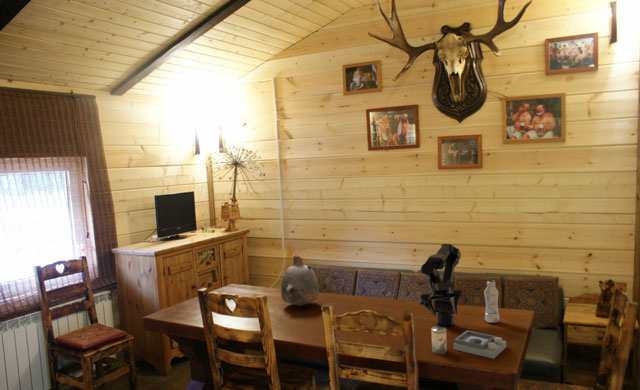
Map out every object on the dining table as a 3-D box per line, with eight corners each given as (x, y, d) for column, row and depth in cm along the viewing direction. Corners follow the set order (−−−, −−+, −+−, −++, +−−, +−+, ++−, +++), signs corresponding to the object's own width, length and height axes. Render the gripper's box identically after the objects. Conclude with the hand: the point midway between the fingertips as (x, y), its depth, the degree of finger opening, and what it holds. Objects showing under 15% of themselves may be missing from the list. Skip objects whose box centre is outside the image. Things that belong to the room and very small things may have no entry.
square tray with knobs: (453, 349, 201) (453, 338, 201) (467, 338, 212) (467, 328, 211) (493, 358, 190) (493, 347, 190) (506, 347, 200) (506, 336, 200)
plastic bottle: (500, 324, 227) (499, 283, 225) (485, 324, 228) (484, 283, 226) (498, 320, 233) (497, 279, 231) (484, 319, 234) (482, 279, 233)
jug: (319, 312, 259) (316, 257, 257) (279, 314, 259) (276, 259, 257) (319, 299, 283) (317, 249, 281) (283, 300, 284) (281, 251, 281)
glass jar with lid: (430, 348, 203) (429, 326, 202) (445, 348, 203) (444, 326, 202) (434, 356, 195) (433, 333, 194) (449, 356, 194) (449, 333, 194)
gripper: (418, 276, 206) (428, 309, 197) (460, 271, 208) (472, 304, 199) (414, 288, 215) (423, 320, 206) (453, 283, 217) (464, 315, 208)
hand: (445, 315), depth 204 cm, fingers open, 9 cm apart
